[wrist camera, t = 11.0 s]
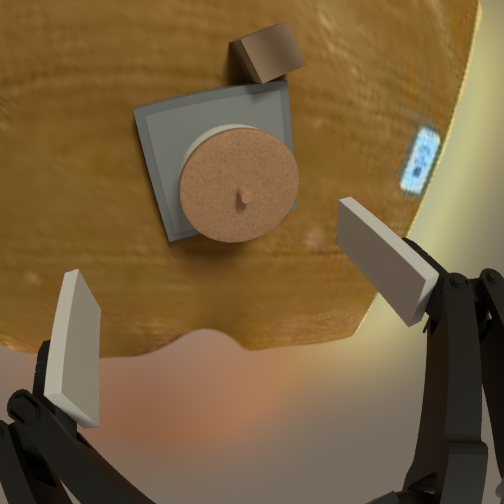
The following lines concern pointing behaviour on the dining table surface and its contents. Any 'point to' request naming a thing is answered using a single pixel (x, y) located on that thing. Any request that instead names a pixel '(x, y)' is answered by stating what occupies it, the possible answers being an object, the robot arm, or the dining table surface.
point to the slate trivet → (196, 123)
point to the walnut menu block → (268, 53)
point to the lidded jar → (237, 183)
